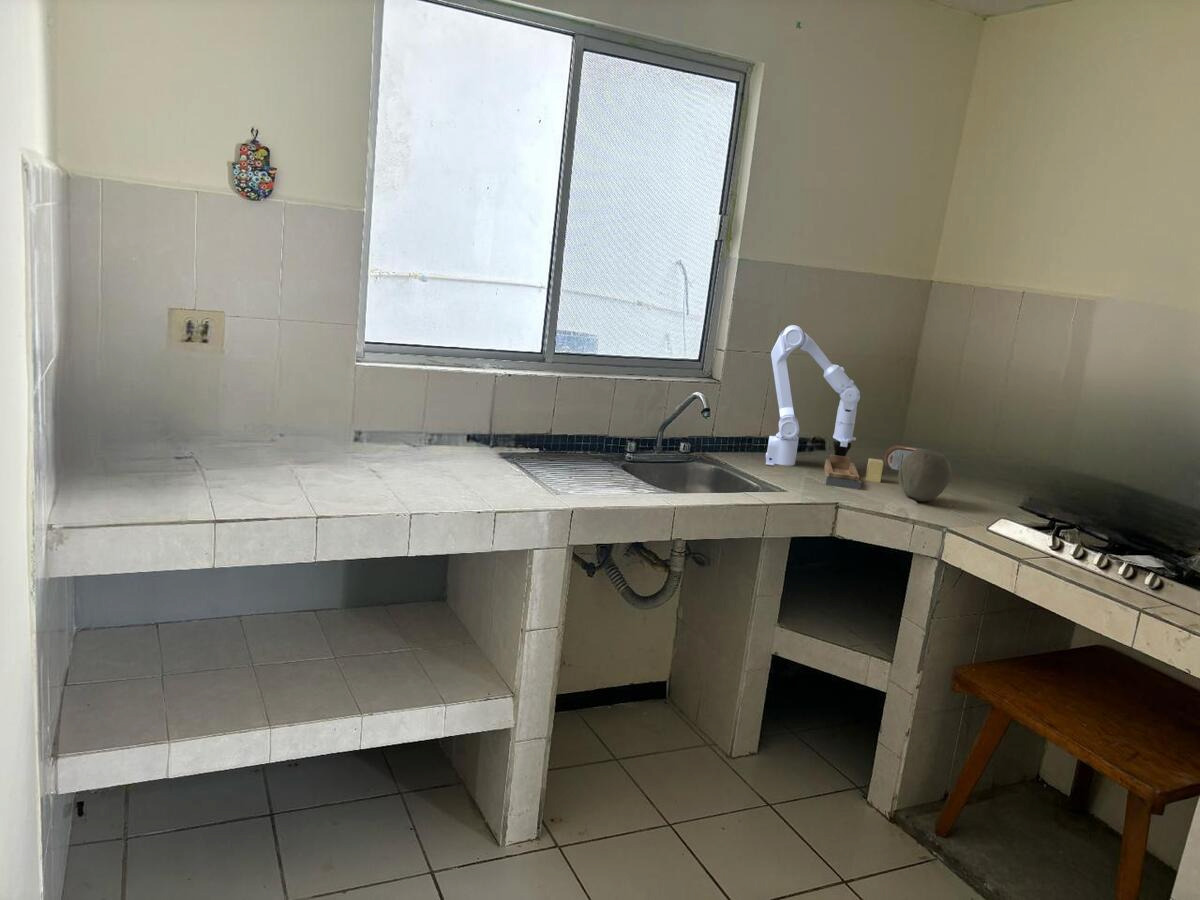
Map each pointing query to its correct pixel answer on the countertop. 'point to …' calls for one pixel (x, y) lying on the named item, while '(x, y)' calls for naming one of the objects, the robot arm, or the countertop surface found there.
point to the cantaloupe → (924, 474)
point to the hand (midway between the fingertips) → (838, 464)
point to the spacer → (874, 470)
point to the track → (843, 482)
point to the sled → (840, 467)
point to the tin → (897, 456)
